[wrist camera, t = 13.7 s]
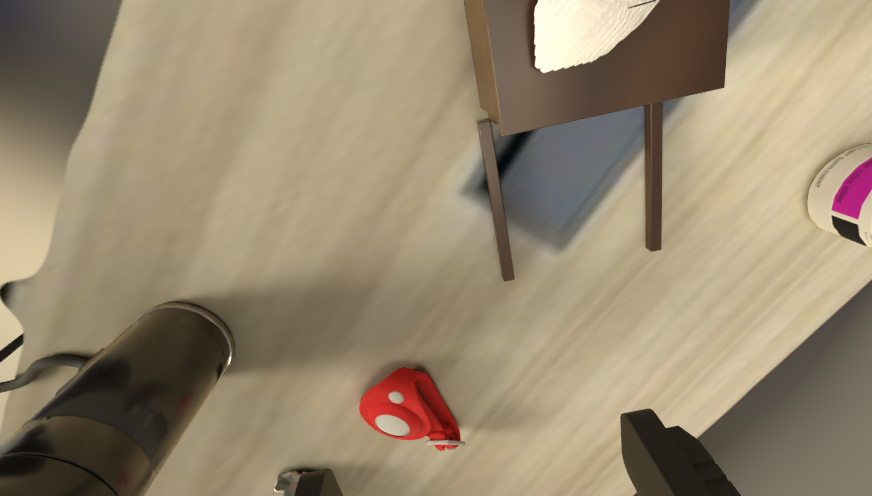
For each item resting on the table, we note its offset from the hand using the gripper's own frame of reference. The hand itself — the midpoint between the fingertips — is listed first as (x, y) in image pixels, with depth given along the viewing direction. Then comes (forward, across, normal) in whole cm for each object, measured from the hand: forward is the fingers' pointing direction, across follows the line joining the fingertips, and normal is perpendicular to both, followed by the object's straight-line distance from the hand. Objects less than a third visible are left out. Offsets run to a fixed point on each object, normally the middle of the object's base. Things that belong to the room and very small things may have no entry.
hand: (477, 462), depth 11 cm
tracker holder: (+28, +8, +24) cm, 38 cm away
